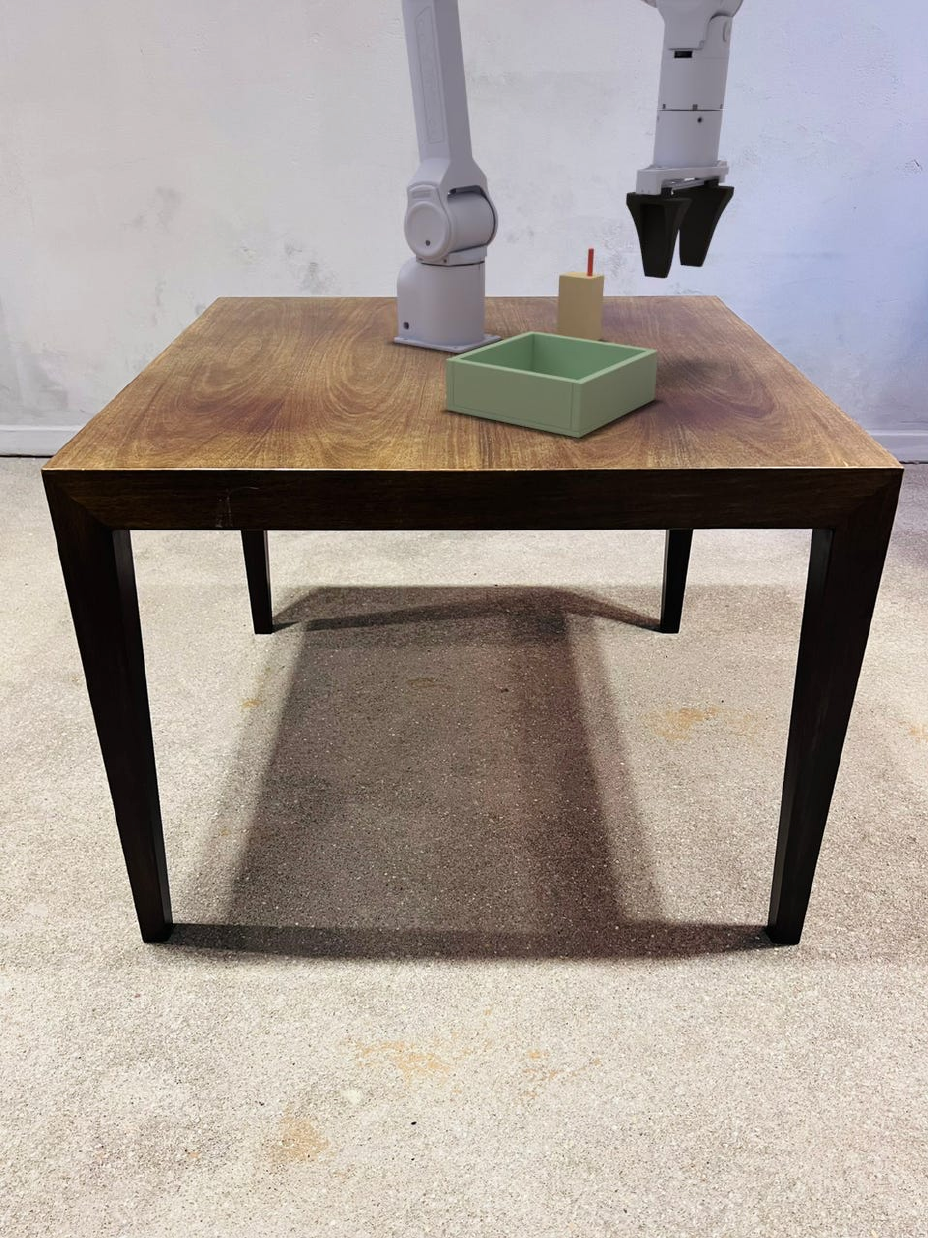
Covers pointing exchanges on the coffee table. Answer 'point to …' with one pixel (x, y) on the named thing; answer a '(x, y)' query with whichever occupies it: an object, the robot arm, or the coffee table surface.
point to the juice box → (581, 303)
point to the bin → (551, 382)
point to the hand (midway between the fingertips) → (674, 271)
